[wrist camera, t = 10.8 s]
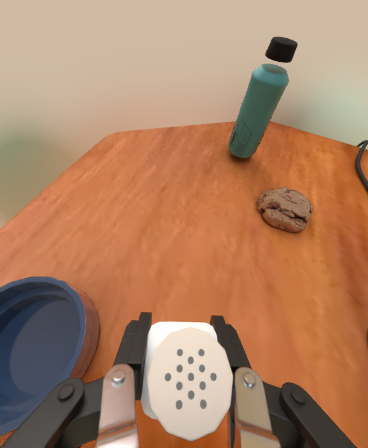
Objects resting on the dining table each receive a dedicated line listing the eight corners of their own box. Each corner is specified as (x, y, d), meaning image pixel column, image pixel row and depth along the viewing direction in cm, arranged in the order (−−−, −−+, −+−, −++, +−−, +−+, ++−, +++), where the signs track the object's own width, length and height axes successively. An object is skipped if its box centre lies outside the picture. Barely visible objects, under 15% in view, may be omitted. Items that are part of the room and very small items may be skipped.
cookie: (316, 213, 36) (328, 203, 33) (290, 243, 31) (301, 235, 29) (274, 183, 39) (282, 173, 37) (245, 207, 35) (252, 197, 32)
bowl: (56, 269, 25) (35, 255, 21) (122, 325, 22) (112, 322, 18) (-48, 361, 19) (-107, 367, 15) (24, 453, 16) (-24, 494, 12)
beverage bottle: (257, 161, 43) (318, 46, 26) (233, 166, 41) (283, 46, 24) (242, 144, 46) (288, 32, 29) (219, 149, 44) (255, 31, 27)
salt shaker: (148, 389, 13) (125, 465, 5) (153, 327, 15) (142, 315, 7) (201, 388, 14) (254, 459, 6) (199, 327, 16) (236, 316, 8)
